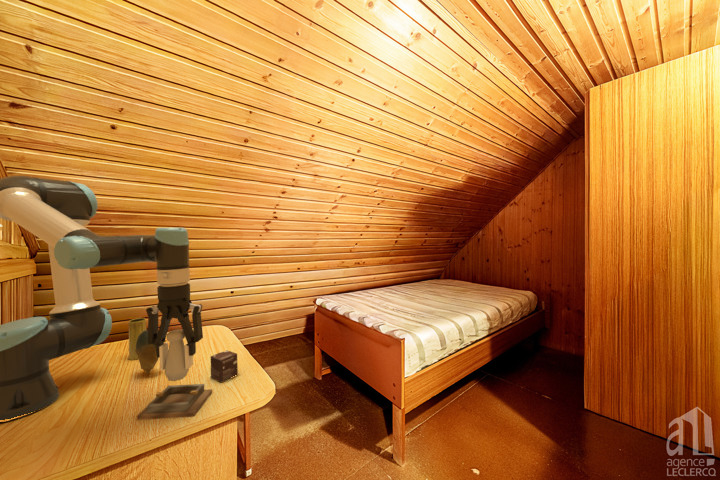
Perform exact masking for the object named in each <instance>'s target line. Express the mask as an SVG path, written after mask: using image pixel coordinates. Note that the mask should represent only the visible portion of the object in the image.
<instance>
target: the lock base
mask: <svg viewBox="0 0 720 480" xmlns="http://www.w3.org/2000/svg"><path fill="white" fill-rule="evenodd" d="M212 394H213V389H212V388H211V389H205V383H199V384H198V383H196V384H177V385H176V384H175V385H168V386H166V388H164V389H163V390H162V391H158V392H157V393H155V398H154V399H153V400H152V401H150V402H149V404H148V405H146V406H145V408H143V410H142V411H140V412H139V413H138V414H137V415H136V419H137V420H151V419H168V418H188V417H195V416H196V415H197V413H198V412H199V410H200V409H201V408H202V406H204V404H205V403H206V402H207V400H208V399H209V397H210V396H211V395H212Z"/></svg>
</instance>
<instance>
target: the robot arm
mask: <svg viewBox="0 0 720 480" xmlns="http://www.w3.org/2000/svg"><path fill="white" fill-rule="evenodd" d="M98 208H99V205H98V199H97V196H96V195H95V193H94V191H93V190H92V189H91V188H89V186H87V184H86V185H85V184H83V183H79V182H74V181H70V180H60V179H59V180H58V179H51V178H42V177H41V178H40V177H34V176H27V175H10V176H4V177H1V178H0V219H1V220H5V221H9V222H14V223H15V224H16V225H18V226H20V227H22V228H23V229H25V230H26V231H27V232H29V233H31V234H32V235H34V236H35V237H36V238H39V239H40V240H42V241H43V242H44V243H46V244H47V245H48V246H47V247H48V255H49V262H50V269H51V270H50V271H51V279H52V286H53V287H52V288H53V294H54V295H53V296H54V303H55V306H54V307H53V308H52V309H51V310H50V311H49V313H48V315H49V319H47V318H46V317H45V316H33V317H27V318H21V319H16V320H12V321H9V322H6V323H3V324H0V420H5V419H11V418H14V417H17V416H21V415H24V414H28V413H31V412H34V411H37V410H39V409H41V408H43V409H45V408H47V407H49V406H51V405H52V404H54V402H56V401H57V400H58V399H59V397H60V389H59V386H58V384H56V382H55V380H54V377H53V376H52V374H51V372H50V361H52V360H53V359H58V358H60V357H64V356H67V355H69V354H73V353H76V352H79V351H81V350H85V349H86V350H87V349H90V348H92V347H94V346H96V345H99V344H102V343H103V342H104V341H105V340H107V338H108V337H109V335H110V333H111V330H112V326H113V321H112V320H113V319H112V316H111V314H110V311H109V310H108V309H107V308H104V307H101V303H100V302H99V301H97V300H95V299H94V296H93V286H92V279H91V278H92V277H91V271H90V269H92V268H100V267H108V266H116V265H117V266H119V265H128V264H129V265H130V264H139V263H156V280H157V281H156V282H157V283H156V284H157V285H158V286H157V290H156V291H157V300H158V302H157V305H152V306H149V307H147V308H146V309H145V312H146V314H147V319H148V320H147V324H148V325H147V330H148V344H154V345H155V346H156V353H157V354H156V355H157V357H159V371H165V365H166V360H167V355H168V350H169V343H168V342H167V334H168V333H169V328H170V324H171V320H172V319H177V321H178V323H179V324H180V325H181V326H180V327H181V330H183V332H184V335H185V338H184V339H185V340H186V344H184V346H185V369H190V368H192V367H193V365H194V355H195V354H196V352H197V348H196V347H197V345H196V344H197V343H198V342H200V341H201V340H202V339H203V337H204V335H203V334H204V333H203V324H202V309H203V305H202V303H200V304H196V303H195V304H194V303H192V301H191V284H190V283H189V282H190V281H191V278H190V277H191V275H190V273H191V272H190V251H189V250H190V245H189V244H190V239H189V233H188V229H186V228H185V227H157V228H156V229H155V231H154V232H155V233H154V234H133V235H100V234H97V233H96V232H93V231H92V230H90V229H89V228H87V225H89V224H90V223H91V219H92V218H94V217H95V215H97V211H98ZM189 310H190V312H191V318H192V323H191V319H190V315H189ZM159 312H160V313H161V317H160V318H161V319H160V326H159ZM48 405H49V406H48ZM46 406H47V407H46ZM44 407H45V408H44ZM41 410H42V409H41ZM39 411H40V410H39ZM37 412H38V411H37ZM34 413H35V412H34Z"/></svg>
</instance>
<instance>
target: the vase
mask: <svg viewBox="0 0 720 480" xmlns="http://www.w3.org/2000/svg"><path fill="white" fill-rule="evenodd" d="M145 330H147V319H146V318H145V317H138V318H133V319H130V320H128V360H130V361H135V360H139V359H138V356H137V354H136V352H135V350H136V343H137V339H138V336H139V335H140V334H141V333H142V332H143V331H145Z"/></svg>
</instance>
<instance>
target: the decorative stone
mask: <svg viewBox="0 0 720 480" xmlns="http://www.w3.org/2000/svg"><path fill="white" fill-rule="evenodd" d="M135 352H136V354H137V356H138V359H137V360H138V362H139V365H140V369H141V370H143V371H144V372H145V373H146V374H147V375H150V373H151V372H152V370H153V369H154V368H155V366H156V364H157V362H158V361H159V359H160V357H157V355H156V354H157V353H156V346H155V345H154V344H148V329H146V330H145V331H143V332H142V333H141V334H140V335H139V336H138V339H137V343H136V350H135Z"/></svg>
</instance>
